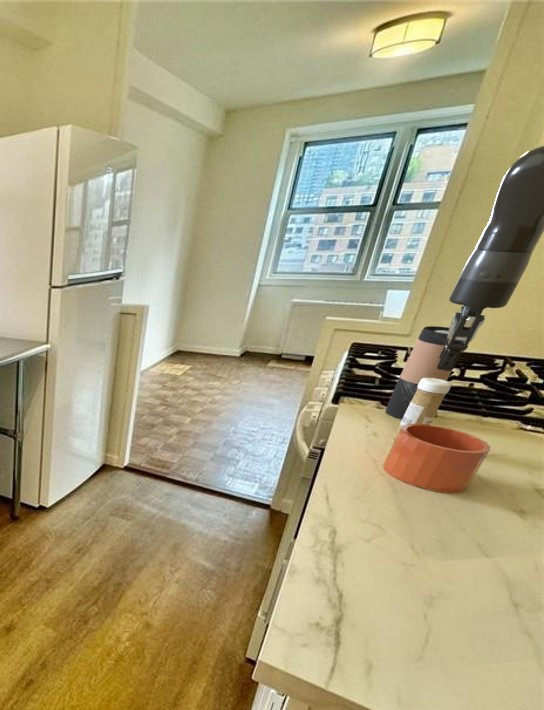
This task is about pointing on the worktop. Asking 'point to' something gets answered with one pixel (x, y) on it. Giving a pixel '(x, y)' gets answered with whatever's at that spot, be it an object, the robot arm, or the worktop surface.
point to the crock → (435, 457)
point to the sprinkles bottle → (425, 402)
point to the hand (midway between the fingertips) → (444, 364)
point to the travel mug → (419, 368)
